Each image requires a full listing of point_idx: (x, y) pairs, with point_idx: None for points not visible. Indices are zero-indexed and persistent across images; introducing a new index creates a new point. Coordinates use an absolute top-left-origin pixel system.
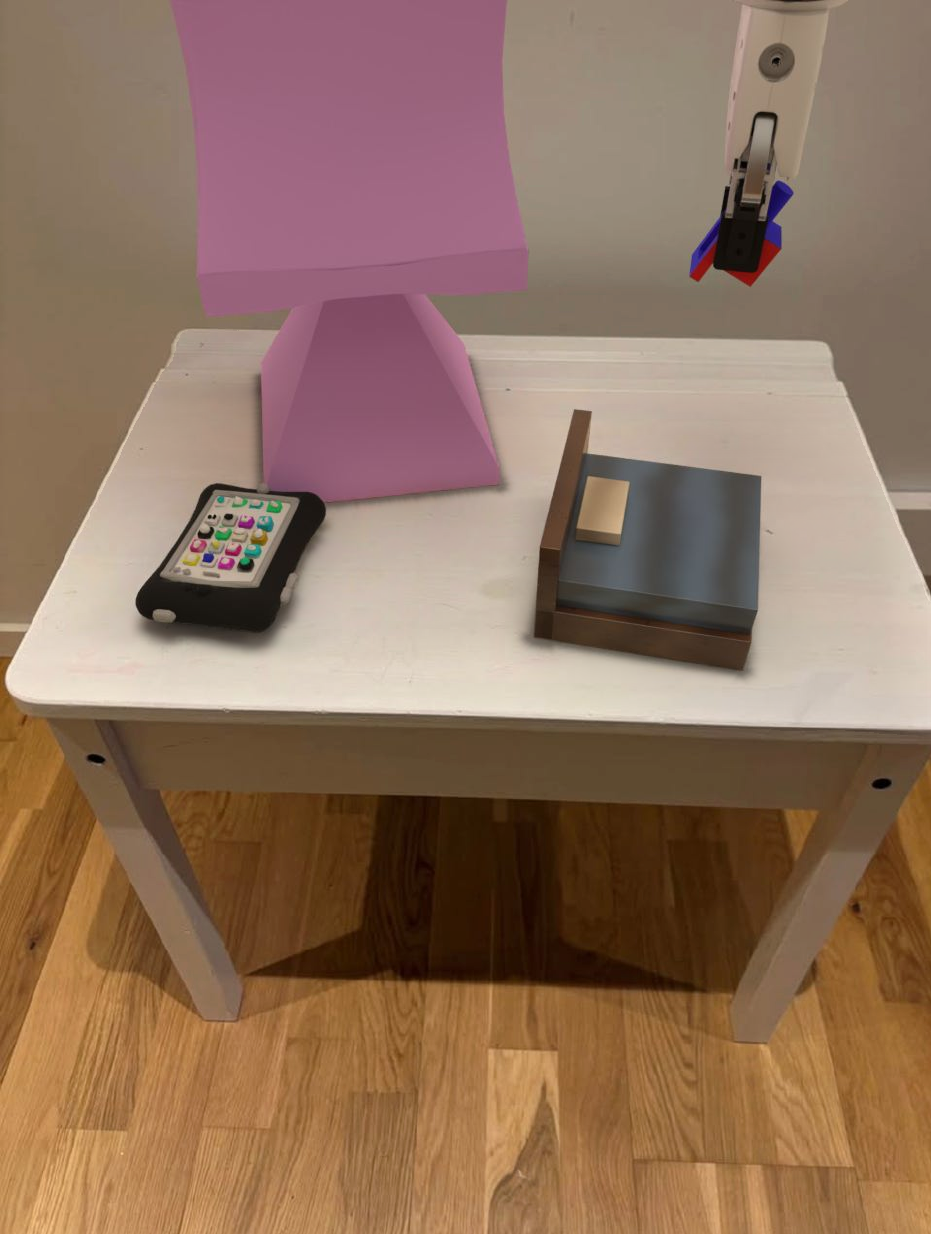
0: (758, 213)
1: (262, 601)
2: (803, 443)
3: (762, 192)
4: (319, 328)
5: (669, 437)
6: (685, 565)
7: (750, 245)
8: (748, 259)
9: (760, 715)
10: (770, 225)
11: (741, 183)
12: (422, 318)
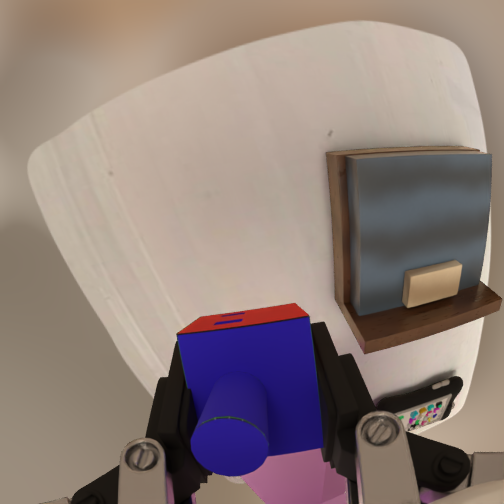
0: (427, 440)
1: (458, 387)
2: (180, 121)
3: (462, 480)
4: (345, 489)
5: (221, 245)
6: (467, 209)
7: (363, 380)
8: (351, 357)
9: (483, 135)
10: (217, 365)
11: (197, 483)
12: (301, 469)
